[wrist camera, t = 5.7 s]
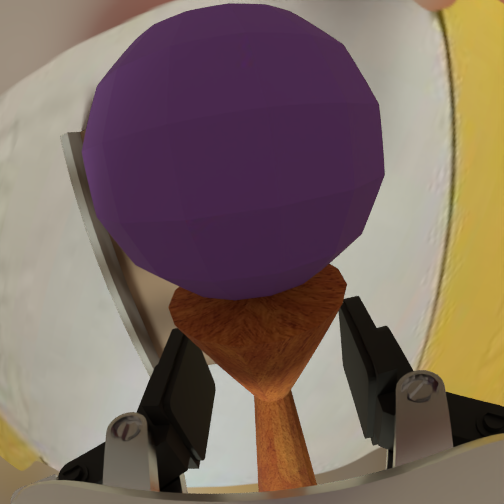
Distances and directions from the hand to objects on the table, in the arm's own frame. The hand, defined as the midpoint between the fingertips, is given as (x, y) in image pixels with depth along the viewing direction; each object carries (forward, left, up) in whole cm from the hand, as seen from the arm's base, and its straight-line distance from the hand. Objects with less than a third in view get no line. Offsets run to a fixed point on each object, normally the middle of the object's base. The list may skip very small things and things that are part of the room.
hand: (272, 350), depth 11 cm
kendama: (0, 0, -1) cm, 1 cm away
